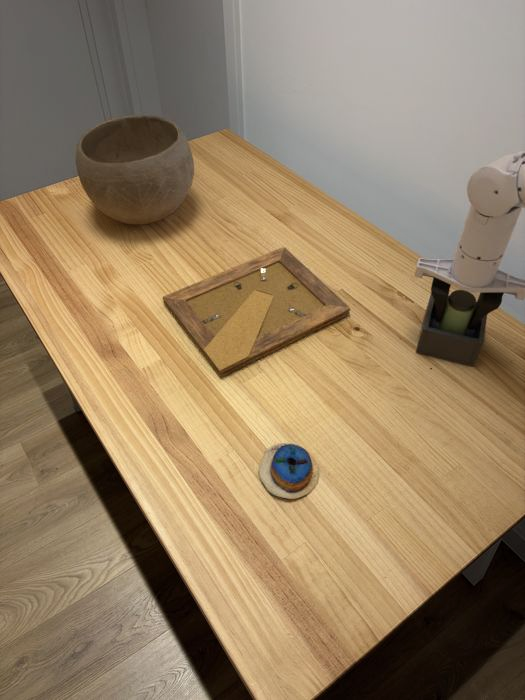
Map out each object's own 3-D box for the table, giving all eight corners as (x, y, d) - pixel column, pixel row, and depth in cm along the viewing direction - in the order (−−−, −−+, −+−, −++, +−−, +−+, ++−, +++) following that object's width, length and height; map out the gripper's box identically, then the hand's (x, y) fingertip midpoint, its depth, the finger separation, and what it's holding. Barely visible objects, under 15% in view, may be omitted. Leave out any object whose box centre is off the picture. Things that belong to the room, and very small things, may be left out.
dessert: (327, 495, 66) (299, 474, 63) (282, 514, 69) (253, 496, 65) (317, 441, 72) (292, 419, 69) (276, 461, 75) (250, 441, 71)
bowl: (73, 203, 109) (50, 130, 98) (164, 169, 117) (153, 98, 106) (121, 257, 98) (102, 181, 87) (219, 215, 106) (213, 141, 95)
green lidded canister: (467, 322, 83) (479, 292, 79) (464, 340, 81) (475, 311, 76) (440, 315, 84) (450, 286, 80) (436, 333, 82) (446, 304, 77)
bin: (478, 327, 86) (488, 304, 82) (473, 367, 81) (483, 343, 77) (424, 315, 88) (431, 291, 84) (415, 352, 83) (422, 329, 79)
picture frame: (220, 378, 80) (349, 315, 88) (219, 370, 78) (350, 306, 87) (163, 303, 90) (283, 253, 98) (161, 295, 89) (284, 245, 97)
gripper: (541, 240, 72) (507, 314, 82) (429, 218, 75) (410, 292, 85) (540, 273, 67) (504, 348, 78) (421, 249, 71) (401, 323, 81)
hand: (454, 321), depth 81 cm, fingers closed on green lidded canister, 4 cm apart
